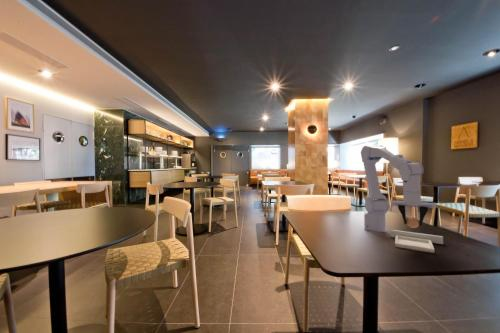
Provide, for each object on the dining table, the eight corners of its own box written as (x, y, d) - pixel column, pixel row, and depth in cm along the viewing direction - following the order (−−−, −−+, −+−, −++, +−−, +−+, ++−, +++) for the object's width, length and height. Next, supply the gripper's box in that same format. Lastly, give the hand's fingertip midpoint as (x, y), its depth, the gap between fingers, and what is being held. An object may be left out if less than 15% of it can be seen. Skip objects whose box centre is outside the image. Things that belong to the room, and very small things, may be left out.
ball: (406, 228, 85) (406, 217, 85) (406, 225, 89) (405, 215, 89) (420, 229, 83) (419, 218, 83) (419, 227, 86) (419, 216, 86)
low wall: (390, 236, 96) (390, 230, 96) (390, 235, 97) (390, 229, 97) (443, 244, 85) (443, 237, 85) (442, 243, 86) (442, 236, 86)
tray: (395, 246, 84) (395, 243, 84) (395, 238, 94) (395, 235, 94) (434, 253, 77) (434, 249, 77) (430, 243, 87) (430, 240, 87)
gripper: (390, 191, 87) (391, 224, 87) (436, 193, 78) (437, 229, 78) (390, 190, 93) (391, 220, 92) (433, 191, 84) (435, 225, 84)
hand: (412, 224), depth 86 cm, fingers closed on ball, 4 cm apart
